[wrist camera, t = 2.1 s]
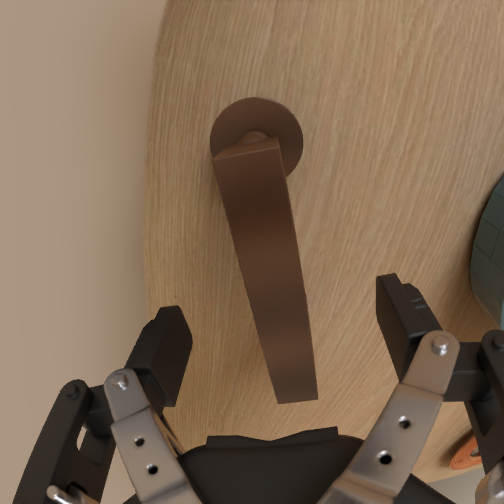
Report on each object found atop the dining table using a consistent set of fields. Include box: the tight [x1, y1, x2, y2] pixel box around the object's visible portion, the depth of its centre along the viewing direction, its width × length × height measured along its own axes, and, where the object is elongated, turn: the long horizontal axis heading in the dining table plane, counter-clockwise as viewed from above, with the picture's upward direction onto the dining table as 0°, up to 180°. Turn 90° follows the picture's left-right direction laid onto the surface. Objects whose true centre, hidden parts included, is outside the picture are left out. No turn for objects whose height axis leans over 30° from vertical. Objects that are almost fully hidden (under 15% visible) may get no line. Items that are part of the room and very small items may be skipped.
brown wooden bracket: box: [210, 97, 318, 404], centre depth 17 cm, size 16×5×9 cm, turn 12°
